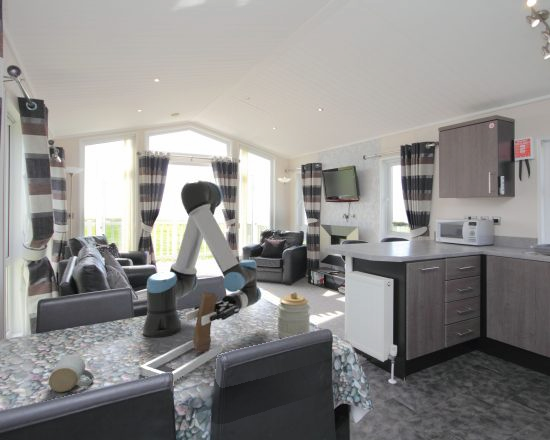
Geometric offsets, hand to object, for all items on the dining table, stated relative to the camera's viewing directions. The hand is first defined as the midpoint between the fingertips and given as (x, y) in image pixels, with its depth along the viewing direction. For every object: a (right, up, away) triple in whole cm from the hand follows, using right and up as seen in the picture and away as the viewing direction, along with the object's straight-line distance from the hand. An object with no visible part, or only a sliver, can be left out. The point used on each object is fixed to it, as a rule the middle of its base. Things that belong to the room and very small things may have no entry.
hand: (194, 319), depth 112 cm
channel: (-3, -13, -3) cm, 14 cm away
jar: (+35, -13, +20) cm, 42 cm away
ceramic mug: (-31, -14, -17) cm, 38 cm away
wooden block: (+1, -11, +3) cm, 11 cm away
